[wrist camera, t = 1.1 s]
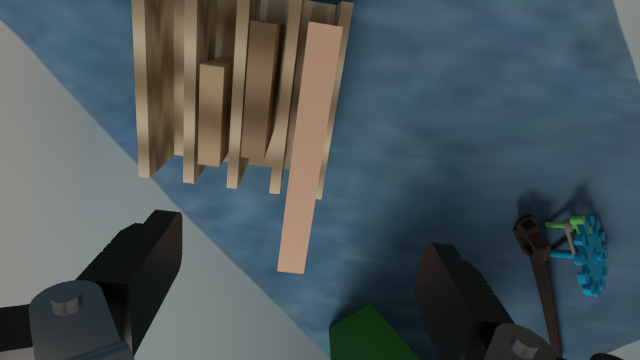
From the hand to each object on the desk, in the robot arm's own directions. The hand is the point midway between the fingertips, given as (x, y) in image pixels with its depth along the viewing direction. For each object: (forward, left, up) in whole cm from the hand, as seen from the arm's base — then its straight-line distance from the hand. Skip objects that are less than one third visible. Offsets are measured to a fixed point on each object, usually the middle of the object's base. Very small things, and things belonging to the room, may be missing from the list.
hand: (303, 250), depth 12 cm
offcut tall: (-1, -4, -30) cm, 31 cm away
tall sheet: (0, 0, -30) cm, 30 cm away
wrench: (+24, +35, -32) cm, 54 cm away
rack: (0, -6, -32) cm, 32 cm away
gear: (+14, +38, -32) cm, 51 cm away
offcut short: (+2, -8, -30) cm, 31 cm away
